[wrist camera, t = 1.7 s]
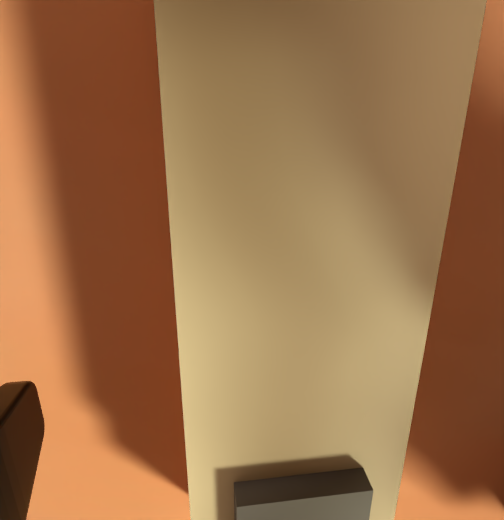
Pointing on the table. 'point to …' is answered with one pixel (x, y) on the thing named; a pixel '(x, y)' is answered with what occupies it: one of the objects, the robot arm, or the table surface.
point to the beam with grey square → (307, 238)
